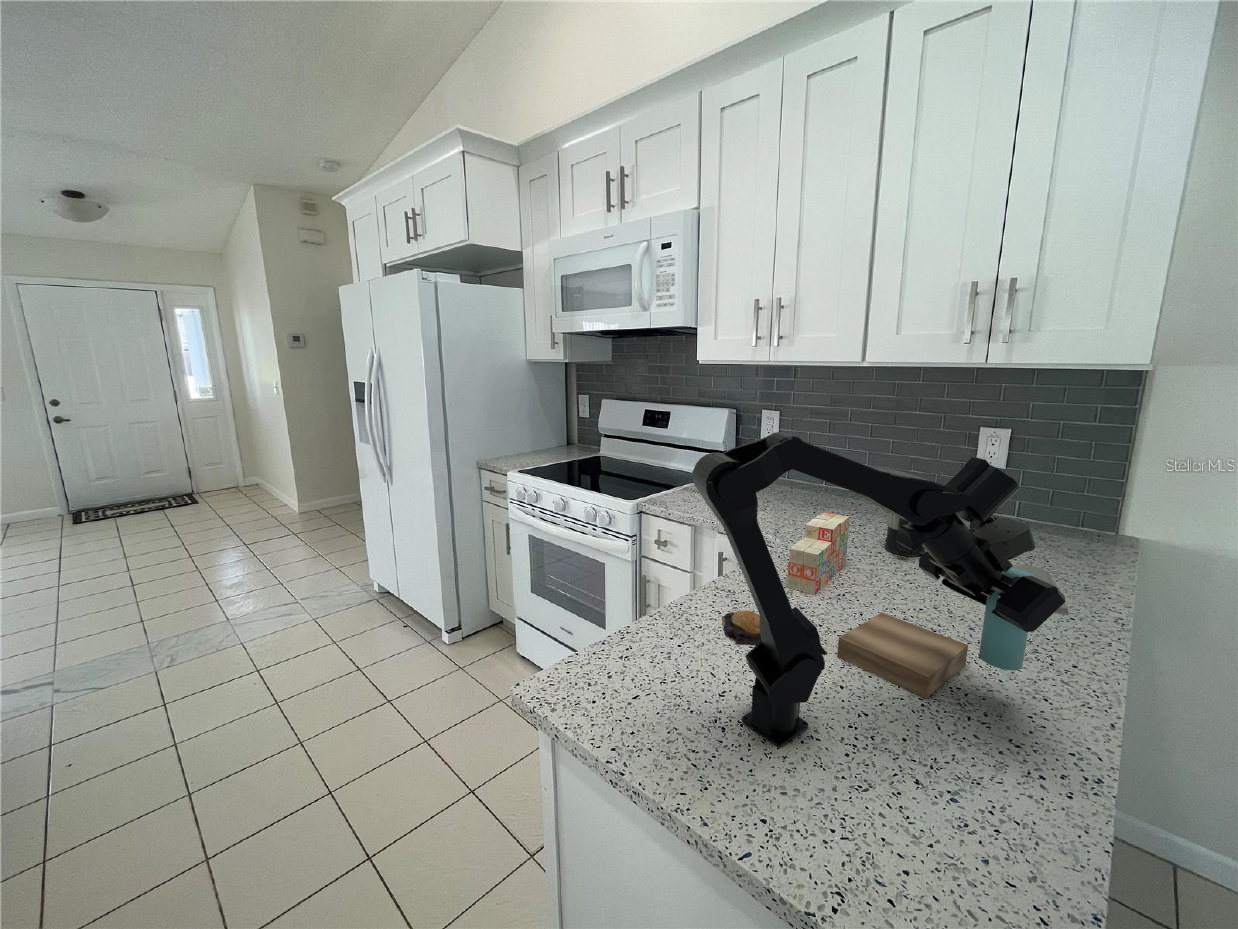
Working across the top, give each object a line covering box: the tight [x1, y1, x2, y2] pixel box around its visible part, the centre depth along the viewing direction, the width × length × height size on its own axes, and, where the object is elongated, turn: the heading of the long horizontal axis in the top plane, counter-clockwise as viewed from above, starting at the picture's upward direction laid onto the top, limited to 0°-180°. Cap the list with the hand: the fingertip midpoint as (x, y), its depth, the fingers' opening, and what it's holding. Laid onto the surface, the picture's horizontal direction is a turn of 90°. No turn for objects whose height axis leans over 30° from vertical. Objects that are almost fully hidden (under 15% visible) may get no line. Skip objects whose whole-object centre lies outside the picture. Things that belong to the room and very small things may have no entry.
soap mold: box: [1011, 564, 1069, 616], centre depth 111 cm, size 10×20×4 cm, turn 148°
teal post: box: [978, 568, 1035, 671], centre depth 72 cm, size 5×5×13 cm
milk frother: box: [884, 512, 927, 557], centre depth 130 cm, size 14×16×15 cm
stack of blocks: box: [786, 512, 850, 595], centre depth 119 cm, size 21×6×12 cm, turn 141°
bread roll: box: [721, 610, 761, 646], centre depth 96 cm, size 11×8×4 cm
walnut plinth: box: [837, 612, 969, 699], centre depth 86 cm, size 14×14×4 cm
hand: (1015, 616), depth 73 cm, fingers closed on teal post, 5 cm apart
